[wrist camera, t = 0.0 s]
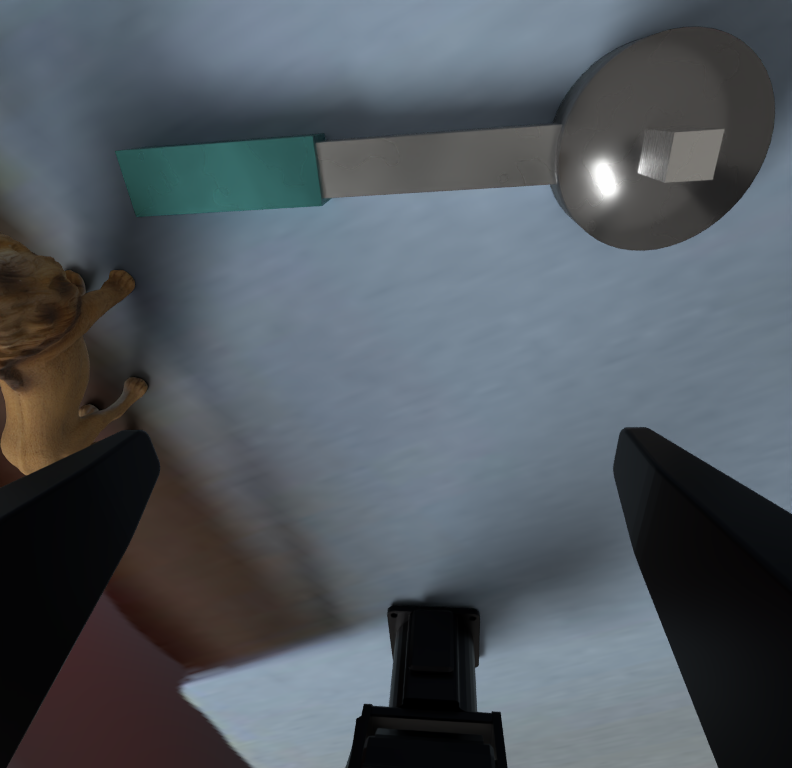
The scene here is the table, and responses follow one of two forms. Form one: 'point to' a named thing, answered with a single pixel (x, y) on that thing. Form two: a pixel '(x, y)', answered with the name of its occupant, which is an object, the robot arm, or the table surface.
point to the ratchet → (524, 150)
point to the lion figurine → (51, 357)
